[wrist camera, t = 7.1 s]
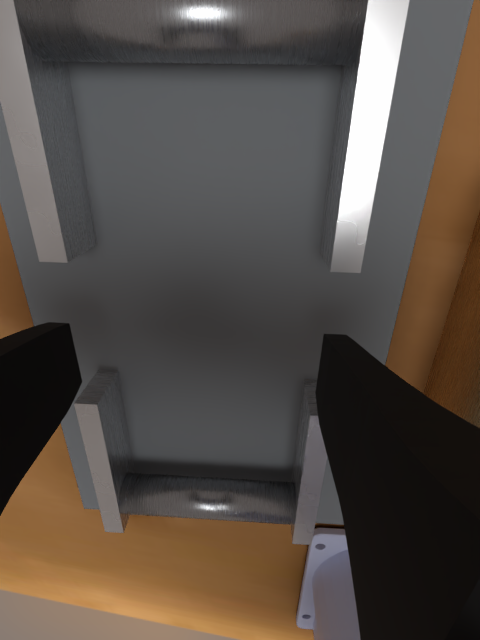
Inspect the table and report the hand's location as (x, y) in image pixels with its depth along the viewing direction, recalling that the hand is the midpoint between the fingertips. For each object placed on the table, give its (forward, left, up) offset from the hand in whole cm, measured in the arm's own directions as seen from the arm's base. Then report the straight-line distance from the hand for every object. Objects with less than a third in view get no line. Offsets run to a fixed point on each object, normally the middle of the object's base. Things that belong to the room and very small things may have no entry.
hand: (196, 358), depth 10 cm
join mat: (0, 0, -3) cm, 3 cm away
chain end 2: (-6, 0, -3) cm, 7 cm away
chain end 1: (+6, 0, -3) cm, 7 cm away
